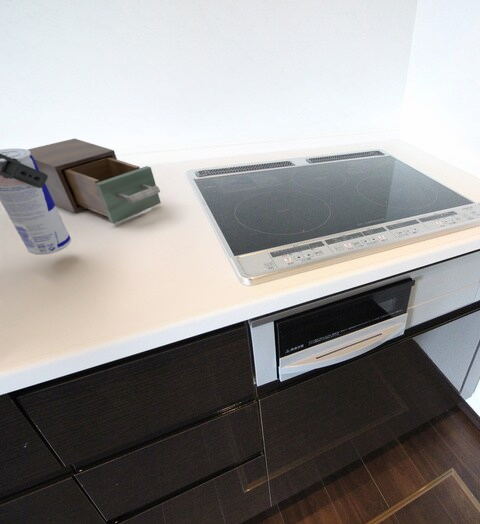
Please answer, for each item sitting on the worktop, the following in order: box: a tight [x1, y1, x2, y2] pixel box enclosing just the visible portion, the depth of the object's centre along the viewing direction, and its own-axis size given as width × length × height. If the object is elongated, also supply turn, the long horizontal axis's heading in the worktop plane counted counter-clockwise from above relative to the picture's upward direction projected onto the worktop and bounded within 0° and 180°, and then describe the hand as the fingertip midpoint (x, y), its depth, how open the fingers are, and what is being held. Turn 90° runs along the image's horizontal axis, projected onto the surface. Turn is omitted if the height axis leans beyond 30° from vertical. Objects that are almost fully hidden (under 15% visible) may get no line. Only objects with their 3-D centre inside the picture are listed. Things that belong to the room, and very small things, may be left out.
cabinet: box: [27, 138, 118, 214], centre depth 76 cm, size 14×12×10 cm
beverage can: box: [0, 148, 72, 256], centre depth 53 cm, size 6×6×15 cm
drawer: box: [62, 157, 162, 224], centre depth 71 cm, size 17×10×8 cm, turn 62°
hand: (31, 176), depth 52 cm, fingers closed on beverage can, 5 cm apart
